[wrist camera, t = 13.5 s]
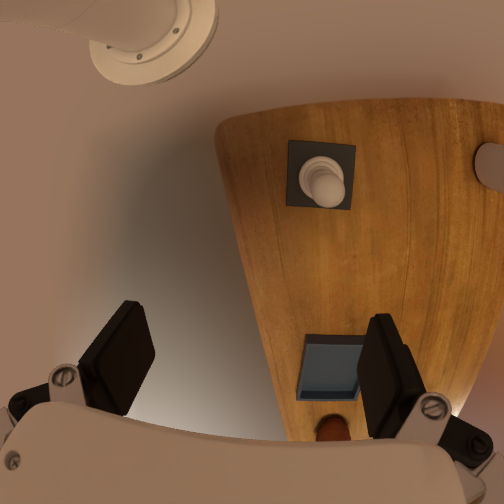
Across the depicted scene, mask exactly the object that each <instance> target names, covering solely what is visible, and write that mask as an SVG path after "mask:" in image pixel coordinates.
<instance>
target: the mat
mask: <svg viewBox="0 0 504 504" xmlns="http://www.w3.org/2000/svg"><path fill="white" fill-rule="evenodd" d="M355 152H356V146H353V145H344V144H334V143H323V142H310V141H294V140H289V150H288V177H287V200H286V206H299V207H315V208H326V207H322V206H320V205H318V204H317V203H316V202H315V201H314V199H312V198H310V197H309V196H307V195H306V194H305V193H304V192H303V190H302V189H301V187H300V184H299V173H300V170H301V168H302V166H303V165H304V163H305V162H306V161H308V160H309V159H311V158H313V157H317V156H324V157H329V158H331V159H333V160H334V161H335V162H337V163H338V165H339V166H340V167H341V169H342V172H343V177H344V181H343V184H344V187H345V195H344V199H343V200H342V202H341V203H340V204H339V205H337V206H335V207H331V208H329V209H342V210H350V208H351V199H352V189H353V178H354V166H355Z"/></svg>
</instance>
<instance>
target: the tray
mask: <svg viewBox="0 0 504 504" xmlns="http://www.w3.org/2000/svg"><path fill="white" fill-rule="evenodd" d="M365 337H366V336H347V335H312V334H306V339H305V345H304V351H303V357H302V363H301V368H300V374H299V379H298V385H297V390H296V400H299V401H356V399H357V397H358V394H359V392H360V384H359V380H358V375H357V364H358V361H359V357H360V354H361V351H362V347H363V344H364V340H365Z"/></svg>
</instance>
